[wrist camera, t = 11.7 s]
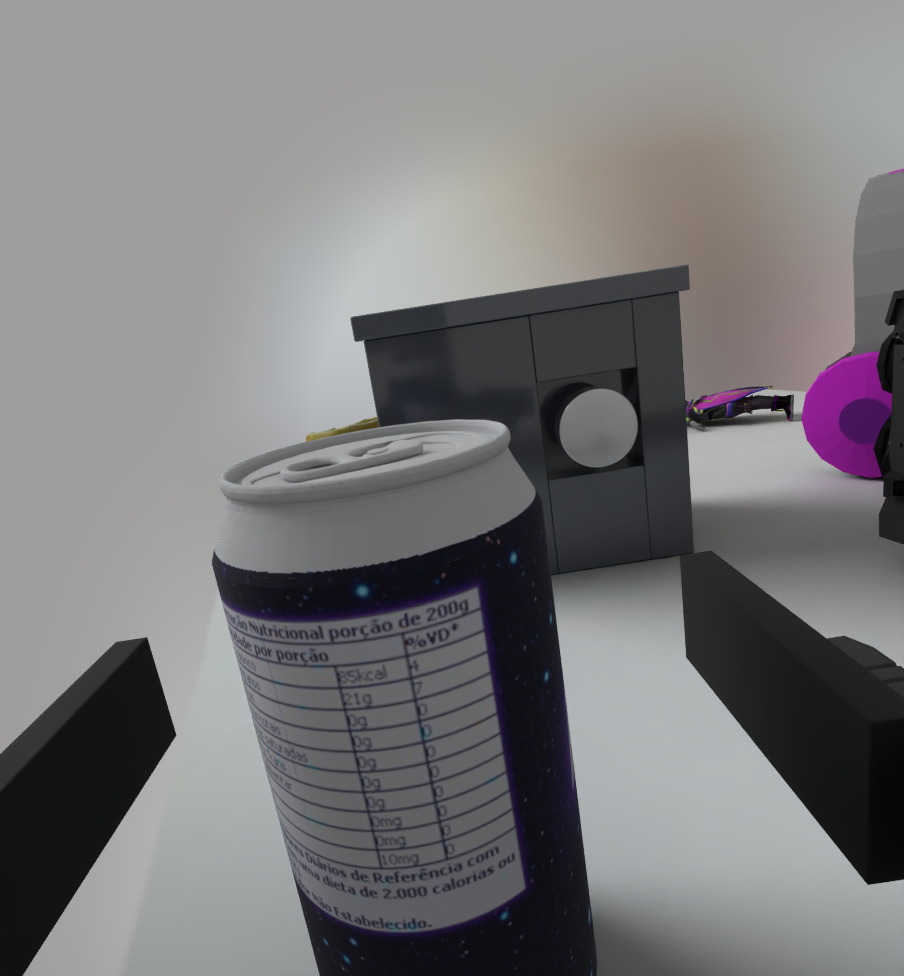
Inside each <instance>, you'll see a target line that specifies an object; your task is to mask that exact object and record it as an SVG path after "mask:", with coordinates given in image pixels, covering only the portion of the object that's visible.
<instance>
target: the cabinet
mask: <svg viewBox="0 0 904 976" xmlns="http://www.w3.org/2000/svg"><path fill="white" fill-rule="evenodd" d="M689 289H690V285H689V266H688V265H682V266H676V267H669V268H662V269H656V270H649V271H643V272H636V273H631V274H624V275H617V276H611V277H605V278H598V279H592V280H585V281H579V282H572V283H566V284H559V285H553V286H547V287H540V288H534V289H528V290H521V291H514V292H509V293H502V294H495V295H489V296H482V297H476V298H470V299H463V300H457V301H451V302H444V303H438V304H431V305H425V306H418V307H412V308H405V309H399V310H392V311H386V312H380V313H373V314H367V315H361V316H354V317H351V318H350V319H351V325H352V330H353V335H354V340H355V341H356V342H360V341H364V346H365V352H366V357H367V362H368V368H369V374H370V379H371V384H372V390H373V396H374V401H375V407H376V412H377V418H378V423H379V427H386V426H392V425H400V424H409V423H417V422H426V421H441V420H456V419H465V420H489V421H495V422H499V423H502V424H504V425H505V426H506V427H507V428H508V429H509V431H510V438H511V439H510V442H509V445H508V448H509V450H510V452H511V453H512V455H513V457H514V458H515V460H516V461H517V463H518V464H519V466H520V467H521V468H522V470H523V471H524V473H525V474H526V476H527V477H528V479H529V480H530V481H531V483H532V484H533V486H534V487H535V489H536V490H537V492H538V494H539V495H540V497H541V500H542V506H543V515H544V523H545V531H546V540H547V548H548V556H549V565H550V573H551V574H556V573H558V572H559V573H564V572H570V571H576V570H583V569H589V568H596V567H602V566H609V565H615V564H622V563H628V562H635V561H641V560H648V559H655V558H661V557H668V556H674V555H681V554H687V553H693V552H694V544H693V527H692V509H691V492H690V475H689V458H688V441H687V423H686V406H685V391H684V373H683V355H682V337H681V320H680V305H679V292H680V291H686V290H689ZM592 386H596V387H603V388H607V389H610V390H614V391H616V392H618V393H620V394H622V395H623V396H624V397H626V398H627V399H628V400H629V402H630V403H631V404H632V406H633V407H634V409H635V412H636V415H637V419H638V432H637V436H636V440H635V442H634V444H633V446H632V448H631V449H630V450H629V452H628V453H627V454H626V455H625V456H624V457H623V458H622V459H620V460H619V461H617V462H615V463H613V464H611V465H608V466H605V467H588V466H584V465H581V464H579V463H577V462H576V461H574V460H573V459H572V458H571V457H569V456H568V455H567V454H566V453H565V452H564V451H563V450H562V449H561V447H560V446H559V444H558V442H557V440H556V437H555V432H554V422H555V417H556V414H557V411H558V409H559V407H560V405H561V404H562V403H563V401H564V400H565V399H566V398H567V397H568V396H569V395H571V394H572V393H574V392H575V391H577V390H579V389H582V388H586V387H592Z"/></svg>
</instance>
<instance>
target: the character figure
mask: <svg viewBox="0 0 904 976" xmlns="http://www.w3.org/2000/svg"><path fill="white" fill-rule="evenodd" d="M769 387H770V388H772V386H769ZM770 388H769V389H770ZM764 389H768V388H765V387H746V388H740V389H735V390H730V391H725V392H720V393H717V394H713V395H710V396H707V395H705V396H701V397H699V398H697V399H696V400H690V401H686V400H685V406H686V423H687V424H689V425H691V426H692V427H694V428H695V429H697V430H701V431H704V427H702V426H699V425H702V424H698V423H700V422H707V421H710V420H712V419H721V418H733V417H735V416H737V415H739V414H742V413H745V412H747V413H750V414H752V413H751V412H752V410H758V409H768V408H769V409H771V411H784V410H785V412H786V415H787V420H789V421H792V419H793V404H794V395H787V396H777V395H774V397H772V396H761V395H757V396H754V397H753V395H751V396H750V397H745V396H748V395H750V394H752V393H755V392H758V391H761V390H764ZM706 396H707V397H706ZM778 409H784V410H778Z"/></svg>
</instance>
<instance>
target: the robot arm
mask: <svg viewBox="0 0 904 976" xmlns="http://www.w3.org/2000/svg"><path fill="white" fill-rule="evenodd" d="M680 565H681V581H682V597H683V613H684V628H685V644H686V657H687V659H688V660H689V661H690V662H691V664H692V665H693V666H694V667H695V669H696V670H697V671H698V673H699V674H700V675H701V676H702V678H703V679H704V680H705V681H706V683H707V684H708V685H709V686H710V688H711V689H712V690H713V691H714V693H715V694H716V695H717V696H718V698H719V699H720V700H721V701H722V703H723V704H724V705H725V706H726V708H727V709H728V710H729V711H730V713H731V714H732V715H733V716H734V718H735V719H736V720H737V721H738V723H739V724H740V725H741V726H742V728H743V729H744V730H745V731H746V733H747V734H748V735H749V736H750V738H751V739H752V740H753V741H754V743H755V744H756V745H757V746H758V748H759V749H760V750H761V751H762V753H763V754H764V755H765V756H766V758H767V759H768V760H769V762H770V763H771V764H772V765H773V767H774V768H775V769H776V770H777V772H778V773H779V774H780V775H781V777H782V778H783V779H784V780H785V782H786V783H787V784H788V785H789V787H790V788H791V789H792V790H793V792H794V793H795V794H796V795H797V797H798V798H799V799H800V800H801V802H802V803H803V804H804V805H805V807H806V808H807V809H808V810H809V812H810V813H811V814H812V815H813V817H814V818H815V819H816V820H817V822H818V823H819V824H820V825H821V827H822V828H823V829H824V830H825V832H826V833H827V834H828V835H829V837H830V838H831V839H832V840H833V842H834V843H835V844H836V845H837V847H838V848H839V849H840V851H841V852H842V853H843V854H844V856H845V857H846V858H847V859H848V861H849V862H850V863H851V864H852V866H853V867H854V868H855V869H856V871H857V872H858V873H859V874H860V876H861V877H862V878H863V879H864V881H865V882H866V883H867V884H868V885H870V884H877V883H883V882H890V881H896V880H903V879H904V668H902V667H901V666H896V663H895V662H894V661H892V660H891V659H889V658H888V657H887V656H885V655H884V654H882V653H881V652H879V651H878V650H877V649H875V648H874V647H871V646H869V645H866V644H864V643H861V642H858V641H856V640H853V639H851V638H848V637H846V636H840V637H834V638H827V639H826V638H825V637H824V636H822V635H821V634H820V633H818V632H817V631H816V630H815V629H813V628H812V627H811V626H809V625H808V624H807V623H805V622H804V621H803V620H801V619H800V618H799V617H797V616H796V615H795V614H794V613H792V612H791V611H790V610H788V609H787V608H786V607H784V606H783V605H782V604H780V603H779V602H778V601H776V600H775V599H774V598H773V597H771V596H770V595H769V594H767V593H766V592H765V591H763V590H762V589H761V588H759V587H758V586H757V585H755V584H754V583H753V582H752V581H750V580H749V579H748V578H746V577H745V576H744V575H742V574H741V573H740V572H738V571H737V570H736V569H734V568H733V567H732V566H731V565H729V564H728V563H727V562H725V561H724V560H723V559H721V558H720V557H719V556H717V555H716V554H715V553H713V552H712V551H706V552H700V553H693V554H687V555H680ZM175 736H176V733H175V729H174V726H173V722H172V719H171V716H170V712H169V709H168V706H167V702H166V699H165V696H164V693H163V689H162V686H161V682H160V679H159V676H158V672H157V669H156V666H155V662H154V659H153V655H152V652H151V649H150V645H149V642H148V639H147V637H146V638H141V639H133V640H127V641H121V642H116V643H115V644H114V645H113V646H112V647H111V648H109V650H107V651H106V652H105V653H104V654H103V655H102V656H101V657H100V658H99V659H98V660H97V661H96V662H95V663H94V664H93V665H92V666H91V667H90V668H89V669H88V670H87V671H86V672H85V673H84V674H83V675H82V676H81V677H80V678H78V679H77V680H76V681H75V682H74V683H73V684H72V685H71V686H70V687H69V688H68V689H67V690H66V691H65V692H64V693H63V694H62V695H61V696H60V697H59V698H58V699H57V700H56V701H55V702H54V703H53V704H52V705H51V706H50V707H49V708H47V709H46V710H45V711H44V712H43V714H41V715H40V716H39V717H38V718H37V719H36V720H35V721H34V722H33V723H32V724H31V725H30V726H29V727H28V728H27V729H26V730H25V731H24V732H23V733H22V734H21V735H20V736H19V737H18V738H16V739H15V740H14V741H13V742H12V743H11V744H10V745H9V746H8V747H7V748H6V749H5V750H4V751H3V752H2V753H1V754H0V976H23V974H24V972H25V971H26V969H27V968H28V966H29V964H30V963H31V962H32V960H33V958H34V957H35V955H36V954H37V952H38V951H39V949H40V947H41V946H42V944H43V943H44V941H45V940H46V938H47V937H48V935H49V933H50V932H51V930H52V928H53V927H54V926H55V924H56V922H57V921H58V919H59V918H60V916H61V915H62V913H63V912H64V910H65V908H66V907H67V905H68V904H69V902H70V901H71V899H72V898H73V896H74V894H75V892H76V891H77V890H78V888H79V887H80V885H81V883H82V882H83V880H84V879H85V877H86V876H87V874H88V873H89V870H90V869H91V868H92V866H93V865H94V863H95V862H96V860H97V858H98V857H99V855H100V854H101V852H102V851H103V849H104V847H105V846H106V844H107V843H108V841H109V839H110V838H111V837H112V835H113V833H114V832H115V830H116V829H117V827H118V825H119V824H120V823H121V821H122V819H123V818H124V816H125V815H126V813H127V811H128V810H129V808H130V807H131V805H132V804H133V802H134V801H135V799H136V798H137V796H138V794H139V793H140V791H141V790H142V788H143V786H144V785H145V783H146V782H147V780H148V779H149V777H150V776H151V774H152V773H153V771H154V769H155V768H156V766H157V765H158V763H159V761H160V760H161V758H162V757H163V755H164V754H165V752H166V751H167V749H168V747H169V746H170V744H171V743H172V741H173V740H174V738H175Z"/></svg>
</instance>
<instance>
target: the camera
mask: <svg viewBox="0 0 904 976" xmlns="http://www.w3.org/2000/svg"><path fill="white" fill-rule="evenodd" d="M884 322H885V323H886V324H887V325H888V326H891V325H895V326H894V331H893V332H892V333H891V334H890V335H889V336H888V337H887V338H886V340H885V341H884V342H883V343H882V344H881V348H880V352H879V356H878V360H877V364H876V367H877V371H878V375H879V380H880V383H881V387H882V390H884V391H886V392H888V393H891V394H892V413H891V415H890V416H889V417H888V419H887V420H886V422H885V423H884V424H883V426H882V427H881V429H880V432H879V434H878V437H877V440H876V443H875V445H874V448H873V450H874V453H875V456H876V459H877V462H878V466H879V469H880V472H881V475H882V477H884V493H883V497H886V499H885V502H884V504H883V506H882V508H881V511H880V513H879V537H882V538H885V539H889V540H892V541H895V542H898V543H901V544H904V290H899V291H894V292H893V296H892V299H891V302H890V305H889V308H888V312H887V315H886V318H885V321H884Z"/></svg>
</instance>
